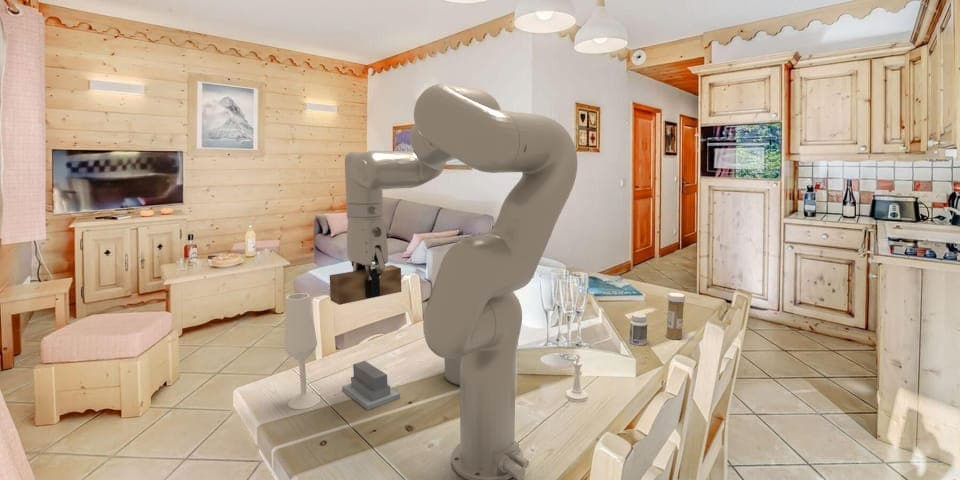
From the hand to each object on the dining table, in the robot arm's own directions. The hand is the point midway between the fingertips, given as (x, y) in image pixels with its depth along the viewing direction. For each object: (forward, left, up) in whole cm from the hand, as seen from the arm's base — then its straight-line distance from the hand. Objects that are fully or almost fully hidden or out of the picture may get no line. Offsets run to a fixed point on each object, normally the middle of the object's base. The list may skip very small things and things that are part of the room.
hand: (367, 293), depth 104 cm
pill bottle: (-23, -74, -24) cm, 81 cm away
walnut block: (0, 0, 0) cm, 0 cm away
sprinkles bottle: (-28, -86, -24) cm, 94 cm away
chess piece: (-31, -34, -24) cm, 52 cm away
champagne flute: (+7, +12, -24) cm, 28 cm away
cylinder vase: (-7, -23, -24) cm, 34 cm away
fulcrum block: (+1, 0, -24) cm, 24 cm away
